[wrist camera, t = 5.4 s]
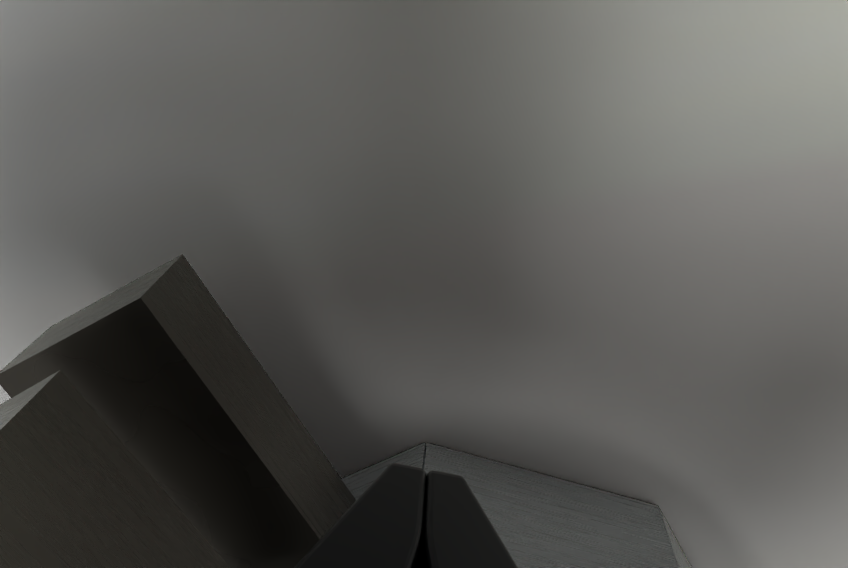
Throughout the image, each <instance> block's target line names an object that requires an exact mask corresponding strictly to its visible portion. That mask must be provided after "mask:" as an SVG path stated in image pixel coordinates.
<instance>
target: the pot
mask: <svg viewBox="0 0 848 568" xmlns="http://www.w3.org/2000/svg"><path fill="white" fill-rule="evenodd" d="M59 370H61V371H62V372H63V373H64V375H65V376H66V377H67V378H68V379H69V380H70V382H71V383H72V384H73V385H74V386H75V387H76V389H77V390H78V391H79V392H80V393H81V394H82V396H83V397H84V398H85V399H86V400H87V401H88V403H89V404H90V405H91V406H92V407H93V408H94V409H95V411H96V412H97V413H98V414H99V415H100V416H101V418H102V419H103V420H104V421H105V422H106V423H107V425H108V426H109V427H110V428H111V429H112V430H113V432H114V433H115V434H116V435H117V436H118V437H119V439H120V440H121V441H122V442H123V443H124V444H125V446H126V447H127V448H128V449H129V450H130V451H131V453H132V454H133V455H134V456H135V457H136V458H137V460H138V461H139V462H140V463H141V464H142V465H143V466H144V468H145V469H146V470H147V471H148V472H149V473H150V475H151V476H152V477H153V478H154V479H155V480H156V482H157V483H158V484H159V485H160V486H161V487H162V489H163V490H164V491H165V492H166V493H167V494H168V496H169V497H170V498H171V499H172V500H173V501H174V503H175V504H176V505H177V506H178V507H179V508H180V510H181V511H182V512H183V513H184V514H185V515H186V517H187V518H188V519H189V520H190V521H191V522H192V523H193V525H194V526H195V527H196V528H197V529H198V530H199V532H200V533H201V534H202V535H203V536H204V537H205V539H206V540H207V541H208V542H209V543H210V544H211V546H212V547H213V548H214V549H215V550H216V551H217V553H218V554H219V555H220V556H221V557H222V558H223V560H224V561H225V562H226V563H227V564H228V565H229V567H230V568H294V567H295V566H296V565H297V564H298V563H299V562H300V560H301V559H302V558H303V557H304V556H305V555H306V554H307V553H308V552H309V551H310V550H311V549H312V548H313V546H314V545H315V544H316V543H317V542H318V541H319V540H320V539H321V538H322V537H323V536H324V535H325V534H326V532H327V531H328V530H329V529H330V528H331V527H332V526H333V525H334V524H335V523H336V522H337V521H338V520H339V518H340V517H341V516H342V515H343V514H344V513H345V512H346V511H347V510H348V509H349V508H350V507H351V505H352V504H353V503H354V502H355V501H356V500H357V499H358V498H359V497H360V496H361V495H362V494H363V493H364V491H365V490H366V489H367V488H368V487H369V486H370V485H371V484H372V483H373V482H374V481H375V480H376V479H377V477H378V476H379V475H380V474H381V473H382V472H383V471H384V470H385V469H386V468H387V467H388V466H389V465H390V464H392V463H398V464H403V465H409V466H414V467H419V468H422V469H423V470H425V472H426V475H427V473H428V472H429V471H431V470H435V471H440V472H446V473H451V474H456V475H460V476H462V477H463V478H464V479H465V480H466V482H467V483H468V485H469V487H470V488H471V490H472V492H473V493H474V495H475V497H476V498H477V500H478V502H479V503H480V505H481V507H482V508H483V510H484V512H485V513H486V515H487V517H488V518H489V520H490V522H491V523H492V525H493V527H494V528H495V530H496V532H497V533H498V535H499V537H500V538H501V540H502V542H503V543H504V545H505V547H506V548H507V550H508V552H509V553H510V555H511V557H512V558H513V560H514V562H515V563H516V565H517V567H518V568H691V566H690V564H689V562H688V560H687V558H686V556H685V555H684V553H683V551H682V549H681V547H680V545H679V543H678V542H677V540H676V538H675V536H674V534H673V532H672V530H671V529H670V527H669V525H668V523H667V521H666V519H665V517H664V516H663V514H662V512H661V510H660V508H659V506H657V505H654V504H650V503H646V502H643V501H639V500H635V499H632V498H628V497H624V496H621V495H617V494H613V493H610V492H606V491H602V490H599V489H595V488H591V487H588V486H584V485H580V484H577V483H573V482H569V481H566V480H562V479H558V478H555V477H551V476H548V475H544V474H540V473H537V472H533V471H529V470H526V469H522V468H518V467H515V466H511V465H507V464H504V463H500V462H496V461H493V460H489V459H485V458H482V457H478V456H474V455H471V454H467V453H463V452H460V451H456V450H452V449H449V448H445V447H441V446H438V445H434V444H430V443H426V444H425V443H423V444H420V445H418V446H416V447H414V448H411V449H409V450H407V451H404V452H402V453H400V454H397V455H395V456H393V457H391V458H388V459H386V460H384V461H381V462H379V463H377V464H374V465H372V466H370V467H368V468H365V469H363V470H361V471H358V472H356V473H354V474H352V475H349V476H347V477H345V478H342V479H341V478H340V477H339V475H338V474H337V472H336V471H335V470H334V468H333V467H332V465H331V464H330V463H329V461H328V460H327V458H326V457H325V455H324V454H323V453H322V451H321V450H320V448H319V447H318V446H317V444H316V443H315V441H314V440H313V438H312V437H311V436H310V434H309V433H308V431H307V430H306V429H305V427H304V426H303V424H302V423H301V421H300V420H299V419H298V417H297V416H296V414H295V413H294V412H293V410H292V409H291V407H290V406H289V404H288V403H287V402H286V400H285V399H284V397H283V396H282V395H281V393H280V392H279V390H278V389H277V387H276V386H275V385H274V383H273V382H272V380H271V379H270V378H269V376H268V375H267V373H266V372H265V370H264V369H263V368H262V366H261V365H260V363H259V362H258V361H257V359H256V358H255V356H254V355H253V354H252V352H251V351H250V349H249V348H248V346H247V345H246V344H245V342H244V341H243V339H242V338H241V337H240V335H239V334H238V332H237V331H236V329H235V328H234V327H233V325H232V324H231V322H230V321H229V320H228V318H227V317H226V315H225V314H224V312H223V311H222V310H221V308H220V307H219V305H218V304H217V303H216V301H215V300H214V298H213V297H212V295H211V294H210V293H209V291H208V290H207V288H206V287H205V286H204V284H203V283H202V281H201V280H200V278H199V277H198V276H197V274H196V273H195V271H194V270H193V269H192V267H191V266H190V264H189V263H188V261H187V260H186V259H185V257H184V256H183V254H182V255H181V256H179V257H177V258H175V259H173V260H171V261H170V262H168V263H166V264H164V265H162V266H161V267H159V268H157V269H155V270H153V271H151V272H150V273H148V274H146V275H144V276H142V277H140V278H139V279H137V280H135V281H133V282H131V283H130V284H128V285H126V286H124V287H122V288H120V289H119V290H117V291H115V292H113V293H111V294H109V295H108V296H106V297H104V298H102V299H100V300H99V301H97V302H95V303H93V304H91V305H89V306H88V307H86V308H84V309H82V310H80V311H78V312H77V313H75V314H73V315H71V316H69V317H68V318H66V319H64V320H62V321H60V322H58V323H57V324H55V325H53V326H51V327H50V328H49V329H48V330H47V331H45V332H44V333H43V334H42V335H41V336H40V337H39V338H38V339H36V340H35V341H34V342H33V343H32V344H31V345H30V346H28V347H27V348H26V349H25V350H24V351H23V352H22V353H20V354H19V355H18V356H17V357H16V358H15V359H14V360H12V361H11V362H10V363H9V364H8V365H7V366H6V367H4V368H3V369H2V370H1V371H0V385H1V386H2V387H3V389H4V390H5V391H6V392H7V393H8V394H9V396H10V397H11V398H13V397H14V396H16V395H18V394H20V393H21V392H23V391H25V390H26V389H28V388H30V387H32V386H33V385H35V384H37V383H39V382H40V381H42V380H44V379H45V378H47V377H49V376H51V375H52V374H54V373H56V372H58V371H59Z"/></svg>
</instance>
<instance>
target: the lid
mask: <svg viewBox="0 0 848 568" xmlns="http://www.w3.org/2000/svg"><path fill="white" fill-rule="evenodd" d="M0 568H230V567H229V565H228V564H227V563H226V562H225V561H224V560H223V558H222V557H221V556H220V555H219V554H218V553H217V551H216V550H215V549H214V548H213V547H212V546H211V544H210V543H209V542H208V541H207V540H206V539H205V537H204V536H203V535H202V534H201V533H200V532H199V530H198V529H197V528H196V527H195V526H194V525H193V523H192V522H191V521H190V520H189V519H188V518H187V517H186V515H185V514H184V513H183V512H182V511H181V510H180V508H179V507H178V506H177V505H176V504H175V503H174V501H173V500H172V499H171V498H170V497H169V496H168V494H167V493H166V492H165V491H164V490H163V489H162V487H161V486H160V485H159V484H158V483H157V482H156V480H155V479H154V478H153V477H152V476H151V475H150V473H149V472H148V471H147V470H146V469H145V468H144V466H143V465H142V464H141V463H140V462H139V461H138V460H137V458H136V457H135V456H134V455H133V454H132V453H131V451H130V450H129V449H128V448H127V447H126V446H125V444H124V443H123V442H122V441H121V440H120V439H119V437H118V436H117V435H116V434H115V433H114V432H113V430H112V429H111V428H110V427H109V426H108V425H107V423H106V422H105V421H104V420H103V419H102V418H101V416H100V415H99V414H98V413H97V412H96V411H95V409H94V408H93V407H92V406H91V405H90V404H89V403H88V401H87V400H86V399H85V398H84V397H83V396H82V394H81V393H80V392H79V391H78V390H77V389H76V387H75V386H74V385H73V384H72V383H71V382H70V380H69V379H68V378H67V377H66V376H65V375H64V373H63V372H62V371H61V370H59V371H58V372H56V373H54V374H52V375H51V376H49V377H47V378H45V379H44V380H42V381H40V382H39V383H37V384H35V385H33V386H32V387H30V388H28V389H26V390H25V391H23V392H21V393H20V394H18V395H16V396H14V397H13V398H11V399H9V400H7V401H6V402H4V403H2V404H1V405H0Z"/></svg>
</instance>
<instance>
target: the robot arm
mask: <svg viewBox="0 0 848 568" xmlns="http://www.w3.org/2000/svg"><path fill="white" fill-rule="evenodd" d="M294 568H518V567H517V565H516V563H515V562H514V560H513V558H512V557H511V555H510V553H509V552H508V550H507V548H506V547H505V545H504V543H503V542H502V540H501V538H500V537H499V535H498V533H497V532H496V530H495V528H494V527H493V525H492V523H491V522H490V520H489V518H488V517H487V515H486V513H485V512H484V510H483V508H482V507H481V505H480V503H479V502H478V500H477V498H476V497H475V495H474V493H473V492H472V490H471V488H470V487H469V485H468V483H467V482H466V480H465V479H464V478H463V477H462V476H460V475H456V474H451V473H446V472H440V471H435V470H431V471H429V472H428V473H427V475H426V472H425V470H423V469H422V468H419V467H414V466H409V465H403V464H398V463H392V464H390V465H389V466H388V467H387V468H386V469H385V470H384V471H383V472H382V473H381V474H380V475H379V476H378V477H377V479H376V480H375V481H374V482H373V483H372V484H371V485H370V486H369V487H368V488H367V489H366V490H365V491H364V493H363V494H362V495H361V496H360V497H359V498H358V499H357V500H356V501H355V502H354V503H353V504H352V505H351V507H350V508H349V509H348V510H347V511H346V512H345V513H344V514H343V515H342V516H341V517H340V518H339V520H338V521H337V522H336V523H335V524H334V525H333V526H332V527H331V528H330V529H329V530H328V531H327V532H326V534H325V535H324V536H323V537H322V538H321V539H320V540H319V541H318V542H317V543H316V544H315V545H314V546H313V548H312V549H311V550H310V551H309V552H308V553H307V554H306V555H305V556H304V557H303V558H302V559H301V560H300V562H299V563H298V564H297V565H296V566H295V567H294Z"/></svg>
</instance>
